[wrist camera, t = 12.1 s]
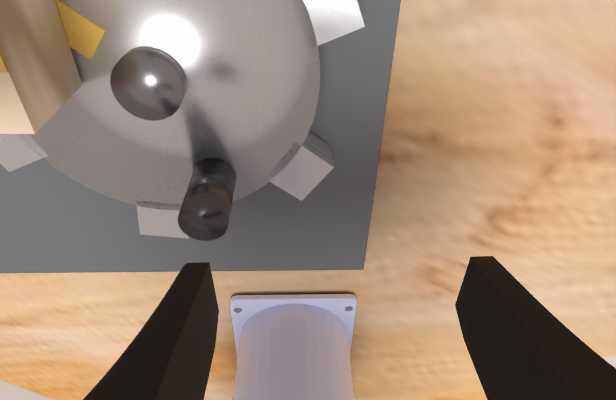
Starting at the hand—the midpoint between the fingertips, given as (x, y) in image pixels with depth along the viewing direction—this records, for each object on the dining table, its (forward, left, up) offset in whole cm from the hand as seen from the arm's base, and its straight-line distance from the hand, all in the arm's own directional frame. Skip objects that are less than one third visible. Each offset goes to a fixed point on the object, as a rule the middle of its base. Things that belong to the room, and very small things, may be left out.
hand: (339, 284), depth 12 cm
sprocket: (+3, +6, -9) cm, 11 cm away
